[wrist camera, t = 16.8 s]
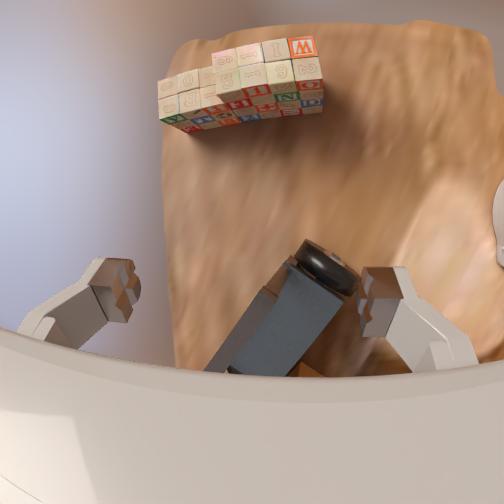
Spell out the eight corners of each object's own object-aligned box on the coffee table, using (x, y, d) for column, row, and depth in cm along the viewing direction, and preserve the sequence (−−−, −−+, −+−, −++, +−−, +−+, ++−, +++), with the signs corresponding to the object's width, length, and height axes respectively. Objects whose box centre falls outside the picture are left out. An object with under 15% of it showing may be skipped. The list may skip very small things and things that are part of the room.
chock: (325, 377, 45) (325, 404, 37) (307, 397, 46) (303, 426, 38) (300, 361, 46) (295, 387, 38) (282, 382, 47) (274, 409, 39)
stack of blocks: (186, 135, 46) (146, 113, 34) (184, 100, 45) (146, 72, 33) (324, 112, 41) (323, 78, 29) (317, 76, 40) (313, 34, 28)
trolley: (360, 269, 42) (397, 326, 20) (278, 375, 47) (242, 479, 24) (305, 231, 43) (287, 249, 21) (229, 342, 48) (161, 428, 25)
